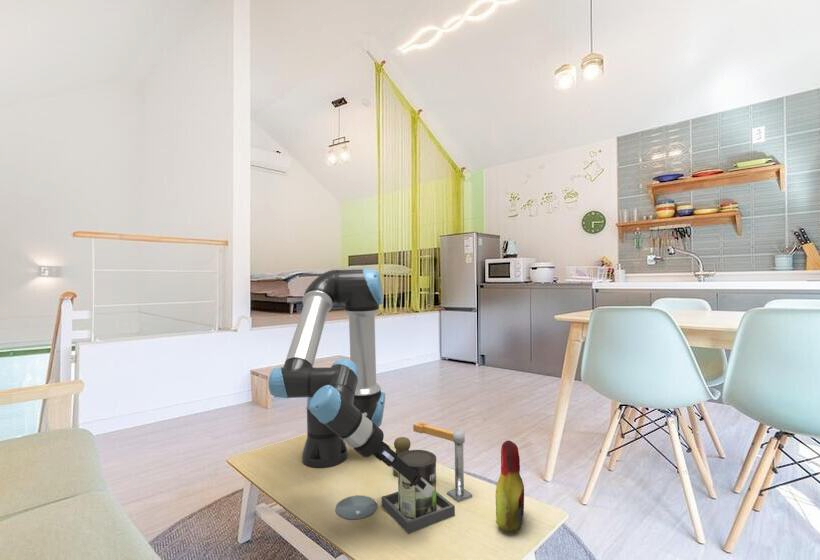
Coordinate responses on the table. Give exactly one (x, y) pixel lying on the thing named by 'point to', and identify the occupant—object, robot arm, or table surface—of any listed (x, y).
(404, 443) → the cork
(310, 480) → the table surface
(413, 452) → the coffee can
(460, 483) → the post
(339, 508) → the slate coaster
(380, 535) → the table surface
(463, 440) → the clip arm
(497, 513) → the bottle
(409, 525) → the square picture frame
